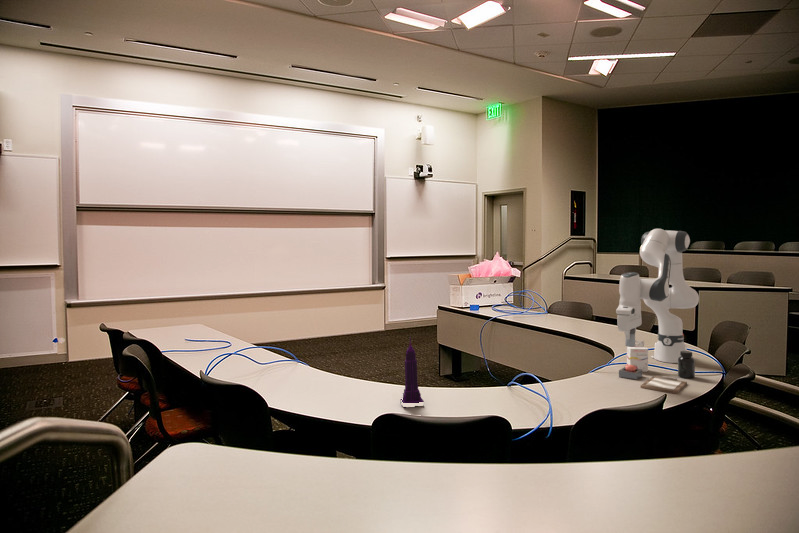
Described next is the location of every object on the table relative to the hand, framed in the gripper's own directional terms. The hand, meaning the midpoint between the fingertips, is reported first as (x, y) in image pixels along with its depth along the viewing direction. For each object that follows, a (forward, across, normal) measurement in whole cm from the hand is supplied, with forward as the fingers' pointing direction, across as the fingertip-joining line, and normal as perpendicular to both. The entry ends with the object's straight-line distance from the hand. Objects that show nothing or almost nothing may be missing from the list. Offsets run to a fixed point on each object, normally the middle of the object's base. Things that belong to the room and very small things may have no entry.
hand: (630, 338), depth 216 cm
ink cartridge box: (+21, -22, -4) cm, 31 cm away
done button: (+19, -9, -3) cm, 21 cm away
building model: (+20, +87, -56) cm, 106 cm away
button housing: (+21, -9, -3) cm, 23 cm away
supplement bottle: (+21, -24, +16) cm, 36 cm away
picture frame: (+21, -3, +13) cm, 25 cm away
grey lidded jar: (+4, 0, 0) cm, 4 cm away
